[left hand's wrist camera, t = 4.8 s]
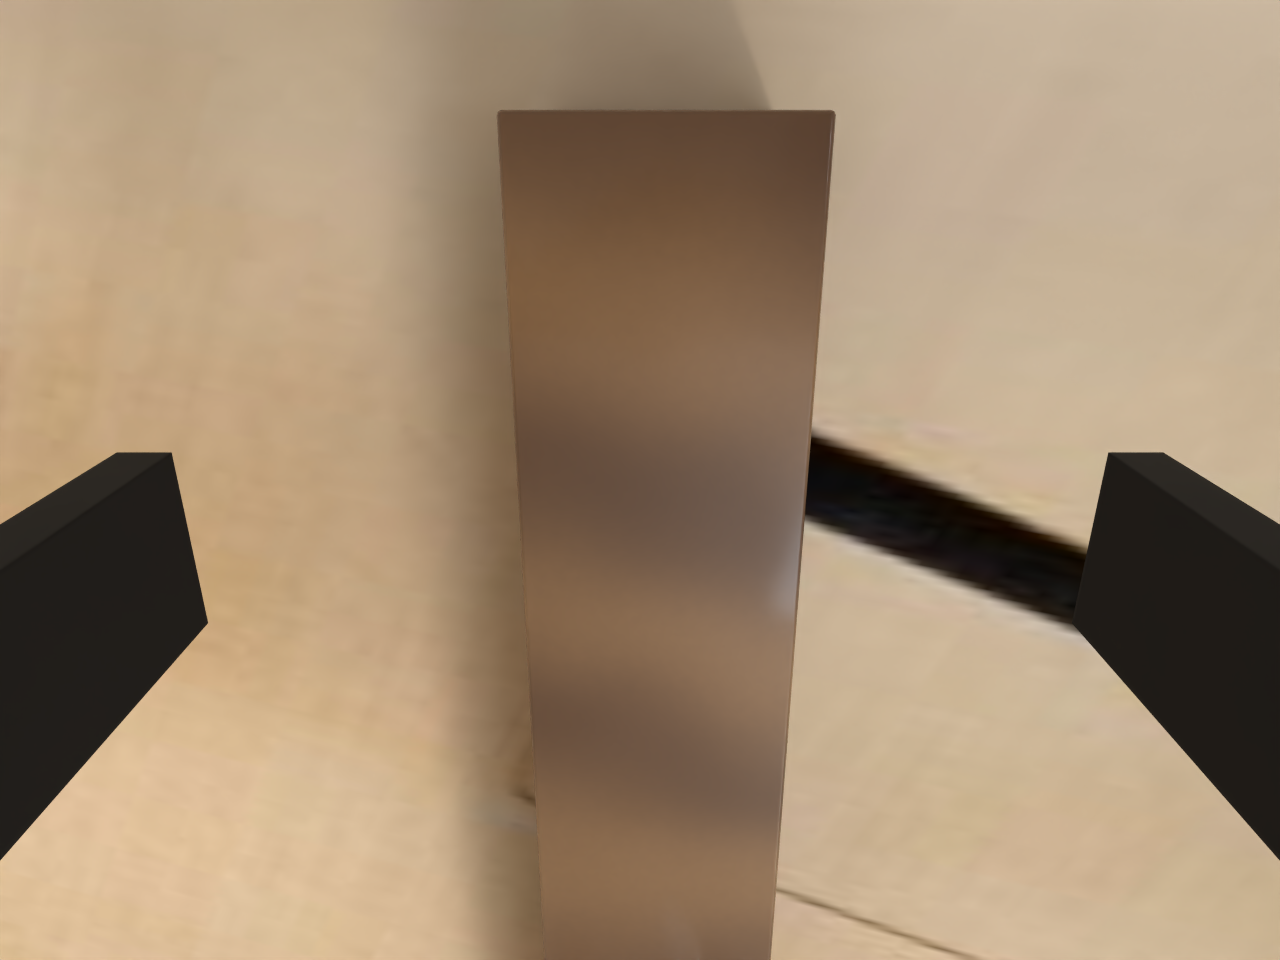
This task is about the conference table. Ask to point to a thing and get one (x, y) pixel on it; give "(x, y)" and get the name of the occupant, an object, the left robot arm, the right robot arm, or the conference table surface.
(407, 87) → the conference table surface
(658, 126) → the beam
